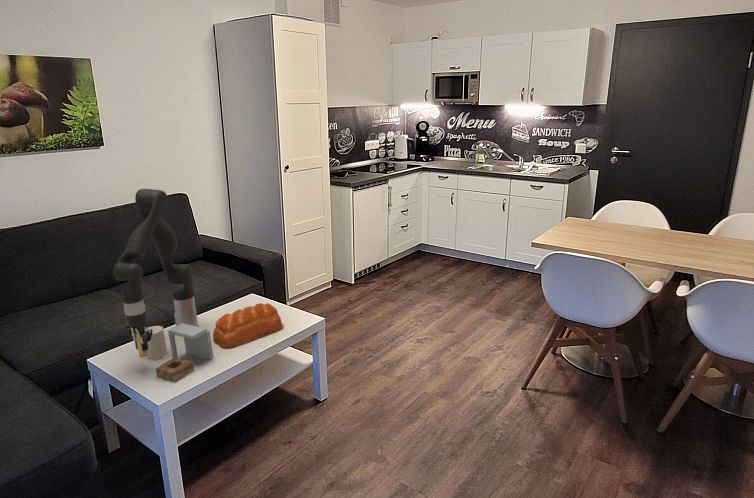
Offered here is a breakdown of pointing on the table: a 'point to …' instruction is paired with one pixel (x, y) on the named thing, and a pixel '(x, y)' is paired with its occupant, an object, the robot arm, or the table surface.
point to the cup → (156, 344)
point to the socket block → (174, 369)
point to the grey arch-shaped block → (192, 340)
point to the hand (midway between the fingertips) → (142, 349)
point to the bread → (246, 325)
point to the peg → (140, 347)
